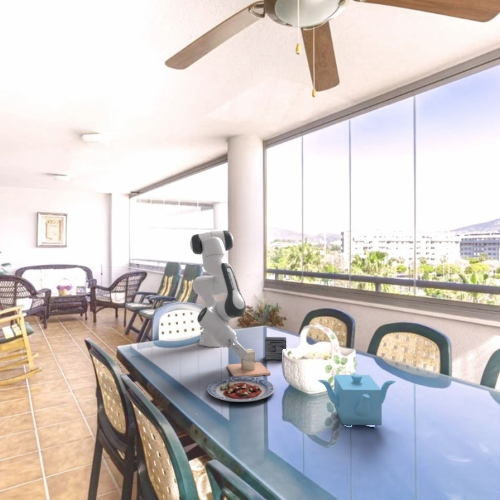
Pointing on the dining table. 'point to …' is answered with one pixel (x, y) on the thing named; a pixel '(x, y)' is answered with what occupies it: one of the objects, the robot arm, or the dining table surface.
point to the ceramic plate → (241, 388)
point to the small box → (274, 348)
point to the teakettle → (357, 399)
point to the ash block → (246, 364)
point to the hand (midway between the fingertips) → (248, 357)
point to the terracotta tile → (238, 371)
